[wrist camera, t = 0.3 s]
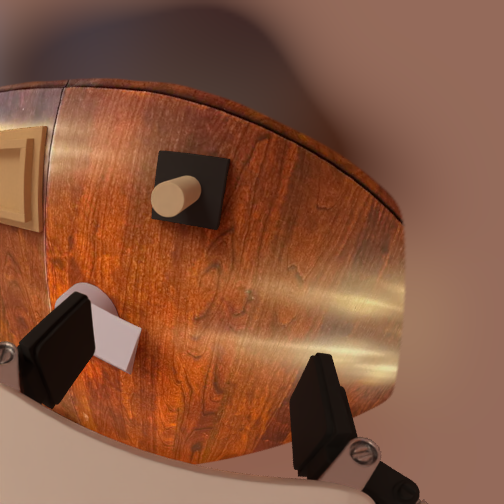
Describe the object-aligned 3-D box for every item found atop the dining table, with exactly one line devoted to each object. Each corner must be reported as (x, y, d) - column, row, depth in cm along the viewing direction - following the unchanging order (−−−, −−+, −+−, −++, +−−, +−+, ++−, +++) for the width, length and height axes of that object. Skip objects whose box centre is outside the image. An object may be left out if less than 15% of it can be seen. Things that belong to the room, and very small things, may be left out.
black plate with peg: (164, 150, 26) (132, 150, 19) (230, 159, 27) (218, 160, 20) (156, 215, 29) (125, 235, 22) (219, 226, 29) (204, 250, 22)
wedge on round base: (151, 313, 33) (69, 272, 32) (130, 345, 27) (40, 294, 25) (139, 359, 36) (66, 320, 35) (122, 391, 30) (43, 345, 28)
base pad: (-6, 132, 25) (-17, 133, 23) (47, 126, 25) (35, 126, 23) (-8, 218, 30) (-18, 222, 27) (43, 230, 30) (32, 235, 28)
